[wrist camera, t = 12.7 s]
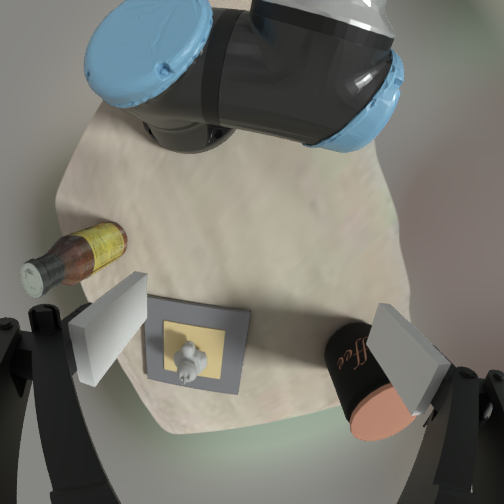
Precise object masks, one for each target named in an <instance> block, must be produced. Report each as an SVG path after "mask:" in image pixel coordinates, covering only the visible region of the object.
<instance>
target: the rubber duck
mask: <svg viewBox="0 0 504 504" xmlns="http://www.w3.org/2000/svg"><path fill="white" fill-rule="evenodd" d="M173 358H174V363H175V365H176V367H178V368H177V375H178V377H179V379H180V380H181V381H183V385H184V384H185V383H186V382H190V381H193V380H194V379H195V378H196V376H197V375H198V374H200V373H201V372H202V370H204V369H205V368H206V366H207V354H206V353H205V352H203V351H201V350H199V349H197V348H195V344H194V343H193V342H192V341H186V342H185V344H184V345H183V346H182V349H180V350H178V351H177V352H176V353H175V354H174V356H173Z"/></svg>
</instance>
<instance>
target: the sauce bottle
mask: <svg viewBox="0 0 504 504" xmlns="http://www.w3.org/2000/svg"><path fill="white" fill-rule="evenodd" d="M126 248H127V236H126V233H125V231H124V230H123V228H122V227H121V226H120V225H118V224H116V223H111V222H108V223H102V224H98V225H95V226H92V227H89V228H86V229H83V230H80V231H77V232H75V233H72V234H69V235H66V236H64V237H62V238H60V239H59V240H58V241H57V242H56V243H55V244H54V245H53V246H52V248H51V249H50V250H49V251H48V253H46V254H45V255H44V256H42V257H40V258H37V259H30V260H29V261H27V262H25V263H24V264H23V265H22V267H21V270H20V277H21V282H22V285H23V287H24V289H25V291H26V292H27V293H28V294H29V295H30V296H32V297H33V298H39V297H41V296H43V295H45V294H46V293H47V292H48V291H49V289H51V288H53V287H54V286H57V285H59V284H64V285H68V286H72V285H74V284H77V283H79V282H80V281H82V280H84V279H86V278H88V277H90V276H92V275H93V274H95V273H96V272H98V271H99V270H101V269H103V268H104V267H106V266H107V265H109V264H111V263H112V262H114V261H116V260H117V259H119V258H120V257H121V256H122V255H123V254H124V253H125V251H126Z"/></svg>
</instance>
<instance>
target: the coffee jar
mask: <svg viewBox="0 0 504 504" xmlns="http://www.w3.org/2000/svg"><path fill="white" fill-rule="evenodd" d="M371 328H372V325H369V324H366V323H353V324H350V325H347V326H344V327H343V328H341V329H340V330H338V331H337V332H336V333H335V334H334V335H333V336H332V337H331V338H330V340H329V342H328V344H327V346H326V349H325V354H324V357H325V362H326V365H327V368H328V371H329V373H330V376H331V379H332V381H333V384H334V387H335V389H336V392H337V395H338V398H339V400H340V403H341V406H342V409H343V411H344V414H345V417H346V419H347V420H348V422H349V423H350V430H351V433H352V434H353V435H354V436H355V437H356V438H358V439H360V440H363V441H375V440H381V439H384V438H387V437H389V436H392V435H394V434H396V433H397V432H399V431H401V430H402V429H404V428H405V427H406V426H407V425H409V424H410V423H411V422H412V421H413V420H414V419H415V418H416V416H417V415H414V416H411V414H410V412H409V411H408V409H407V407H406V406H405V404H404V403H403V401H402V399H401V398H400V396H399V394H398V393H397V391H396V390H395V388H394V386H393V385H392V383H391V382H390V380H389V379H388V377H387V375H386V374H385V372H384V371H383V369H382V368H381V366H380V365H379V363H378V362H377V360H376V358H375V357H374V355H373V354H372V352H371V351H370V349H369V348H368V346H367V345H366V343H367V340H368V337H369V334H370V331H371Z"/></svg>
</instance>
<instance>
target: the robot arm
mask: <svg viewBox="0 0 504 504" xmlns="http://www.w3.org/2000/svg"><path fill="white" fill-rule="evenodd" d="M386 2H387V0H252V3H251V9H250V11H246V10H237V9H227V8H214V7H211V6H210V3H209V1H208V0H125V1H124V2H122V3H121V4H120V5H119V6H118V7H117V8H116V9H114V10H113V11H112V12H110V13H109V14H108V15H107V16H106V17H105V18H104V19H103V21H102V22H101V23H100V24H99V26H98V27H97V29H96V30H95V32H94V33H93V35H92V37H91V39H90V41H89V44H88V46H87V49H86V53H85V58H84V72H85V77H86V78H87V81H88V83H89V86H90V87H91V89H92V90H93V91H94V92H95V93H96V94H98V95H99V96H100V97H101V98H102V99H103V100H104V101H105V102H106V103H108V104H109V105H111V106H115V107H117V108H120V109H122V110H124V111H126V112H127V113H129V114H131V115H133V116H135V117H137V118H139V119H140V120H142V121H143V124H144V127H145V129H146V131H147V132H148V134H149V135H150V136H151V137H152V139H153V140H155V141H156V142H157V143H158V144H160V145H161V146H163V147H165V148H167V149H169V150H172V151H174V152H178V153H184V154H195V153H201V152H205V151H208V150H211V149H213V148H215V147H217V146H219V145H220V144H222V143H223V142H224V141H226V140H227V139H228V138H229V137H230V136H231V135H232V134H233V133H234V132H235V130H236V129H240V130H245V131H251V132H256V133H261V134H265V135H270V136H275V137H279V138H283V139H288V140H292V141H296V142H300V143H302V145H304V146H306V147H310V148H317V147H320V148H324V149H328V150H332V151H336V152H341V153H347V152H351V151H356V150H359V149H361V148H363V147H364V146H366V145H367V144H369V143H370V142H371V141H372V140H373V139H374V138H375V137H376V136H377V135H378V134H379V133H380V131H381V130H382V129H383V128H384V126H385V125H386V123H387V122H388V120H389V119H390V117H391V115H392V113H393V111H394V110H395V107H396V105H397V103H398V100H399V97H400V94H401V92H400V90H399V87H400V86H401V84H402V83H403V80H404V68H403V64H402V61H401V59H400V57H399V56H398V55H397V54H396V53H395V51H394V50H393V49H391V46H392V43H393V41H394V38H395V32H394V30H393V28H392V26H391V24H390V23H389V21H388V19H387V17H386V15H385V11H384V7H385V5H386ZM28 314H29V320H30V325H31V329H32V332H27V331H21V330H20V326H19V322H18V321H17V320H16V319H14V318H6V317H5V318H1V319H0V504H17V496H16V495H17V470H18V458H19V449H20V441H21V433H22V428H23V422H24V416H25V411H26V406H27V401H28V397H29V393H30V388H31V384H32V380H33V387H34V397H35V407H36V414H37V421H38V428H39V433H40V438H41V444H42V448H43V453H44V457H45V462H46V466H47V469H48V473H49V476H50V480H51V483H52V487H53V491H52V492H50V499H51V503H52V504H121V502H120V501H119V499H118V497H117V495H116V493H115V491H114V489H113V487H112V485H111V483H110V481H109V479H108V477H107V475H106V473H105V470H104V468H103V466H102V464H101V461H100V459H99V457H98V454H97V452H96V449H95V447H94V444H93V442H92V439H91V437H90V434H89V431H88V428H87V425H86V422H85V419H84V416H83V413H82V410H81V407H80V404H79V400H78V396H77V393H76V389H75V385H74V381H73V378H72V375H73V374H74V373H75V372H76V371H77V373H78V377H79V381H80V382H82V383H85V384H88V385H91V386H93V387H95V386H96V385H97V384H98V382H99V381H100V380H101V378H102V377H103V375H104V374H105V373H106V371H107V370H108V369H109V367H110V366H111V365H112V363H113V362H114V361H115V359H116V358H117V357H118V355H119V354H120V353H121V351H122V350H123V349H124V347H125V346H126V345H127V344H128V342H129V341H130V340H131V338H132V337H133V336H134V334H135V333H136V332H137V331H138V329H139V328H140V327H141V325H142V324H143V323H144V322H145V320H146V319H147V273H142V272H136V271H135V272H133V273H132V274H131V275H129V276H128V277H127V278H125V279H124V280H123V281H121V282H120V283H119V284H117V285H116V286H115V287H113V288H112V289H111V290H109V291H108V292H107V293H105V294H104V295H103V296H101V297H100V298H99V299H98V300H96V301H95V302H94V303H87V304H84V305H81V306H80V307H79V308H77V309H76V310H75V311H74V312H72V313H71V314H70V315H68V316H67V317H65V318H64V319H63V320H62V321H61V319H60V312H59V309H58V307H56V306H55V305H51V304H40V305H36V306H34V307H32V308H31V309H30V310H29V312H28ZM366 345H367V346H368V348H369V349H370V351H371V352H372V354H373V355H374V357H375V358H376V360H377V362H378V363H379V365H380V366H381V368H382V369H383V371H384V372H385V374H386V375H387V377H388V379H389V380H390V382H391V383H392V385H393V386H394V388H395V390H396V391H397V393H398V394H399V396H400V398H401V399H402V401H403V403H404V404H405V406H406V407H407V409H408V411H409V412H410V414H411V416H414V415H419V414H424V413H425V412H426V410H427V408H428V407H429V405H430V403H431V404H432V406H433V407H434V409H433V411H432V413H431V415H430V416H429V417H428V419H427V421H426V422H425V424H424V425H423V427H425V426H426V425H427V428H426V431H425V434H424V437H423V440H422V443H421V446H420V450H419V452H418V455H417V458H416V461H415V463H414V466H413V468H412V471H411V473H410V476H409V478H408V481H407V483H406V485H405V487H404V489H403V492H402V494H401V496H400V498H399V500H398V502H397V504H504V374H503V372H501V371H499V370H490V371H489V372H488V374H487V376H486V378H485V379H481V378H478V376H477V374H476V373H475V372H474V371H472V370H471V369H469V368H466V367H457V368H456V367H455V366H454V365H453V364H452V363H451V362H450V361H449V360H448V359H447V358H446V357H445V356H444V355H443V354H442V353H441V352H440V351H439V350H438V349H437V348H436V347H435V346H434V345H432V344H431V343H430V342H429V341H428V340H427V339H426V338H425V337H424V336H423V335H422V334H421V333H420V332H419V331H418V330H417V329H416V328H415V327H414V326H413V325H412V324H411V323H410V322H409V321H407V320H406V319H405V318H404V317H403V316H402V315H401V314H400V313H399V312H398V311H397V310H396V309H395V308H394V307H393V306H391V305H390V304H385V303H379V304H378V308H377V311H376V315H375V318H374V321H373V324H372V328H371V331H370V334H369V337H368V340H367V343H366ZM491 410H492V413H491V415H490V417H489V418H488V415H489V413H490V412H491ZM471 486H472V490H473V493H471Z"/></svg>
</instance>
